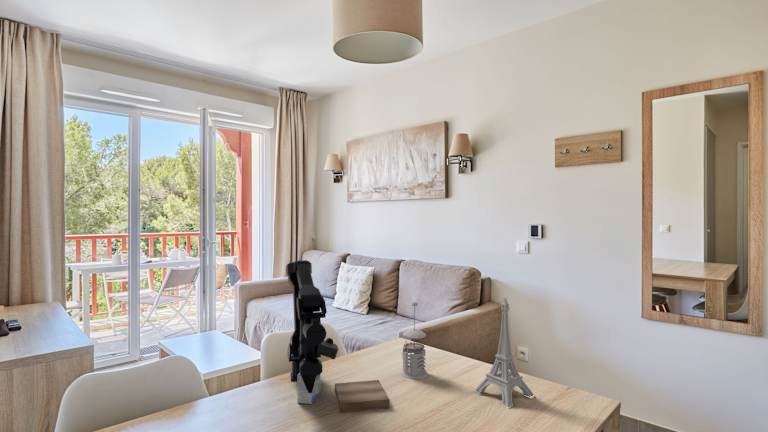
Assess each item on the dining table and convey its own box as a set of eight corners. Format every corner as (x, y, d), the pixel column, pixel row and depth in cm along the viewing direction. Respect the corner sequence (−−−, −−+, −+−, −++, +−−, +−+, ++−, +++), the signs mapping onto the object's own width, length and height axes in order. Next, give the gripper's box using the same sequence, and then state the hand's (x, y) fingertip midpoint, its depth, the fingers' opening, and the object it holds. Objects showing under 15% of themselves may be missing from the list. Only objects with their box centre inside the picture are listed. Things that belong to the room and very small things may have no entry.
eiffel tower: (500, 382, 137) (501, 292, 137) (535, 397, 126) (536, 299, 126) (472, 392, 129) (473, 297, 129) (508, 409, 118) (509, 304, 118)
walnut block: (334, 391, 128) (334, 383, 128) (378, 387, 132) (378, 379, 132) (340, 412, 115) (340, 403, 115) (389, 407, 118) (389, 399, 118)
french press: (432, 372, 145) (433, 301, 145) (417, 383, 135) (418, 307, 135) (408, 366, 150) (409, 298, 150) (391, 376, 140) (392, 303, 140)
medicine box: (311, 404, 119) (311, 375, 119) (296, 403, 120) (297, 373, 120) (320, 393, 127) (321, 365, 127) (307, 391, 128) (307, 364, 128)
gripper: (340, 342, 116) (339, 397, 116) (333, 325, 135) (332, 372, 135) (300, 345, 114) (299, 401, 114) (298, 326, 132) (297, 375, 132)
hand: (309, 386), depth 124 cm, fingers closed on medicine box, 9 cm apart
